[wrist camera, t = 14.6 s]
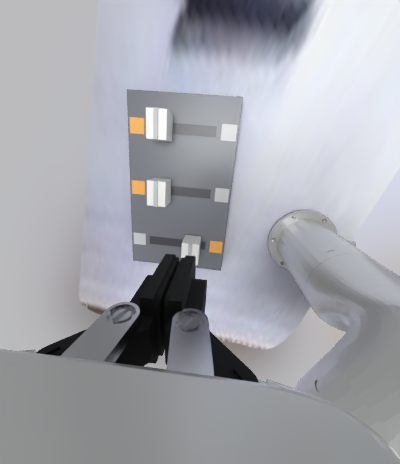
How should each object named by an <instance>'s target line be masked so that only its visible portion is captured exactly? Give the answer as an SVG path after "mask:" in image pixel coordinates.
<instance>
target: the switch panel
mask: <svg viewBox="0 0 400 464" xmlns="http://www.w3.org/2000/svg"><path fill="white" fill-rule="evenodd" d="M242 101H243V97H233V96H218V95H203V94H188V93H173V92H158V91H143V90H128V89H127V105H128V132H129V159H130V186H131V213H132V240H133V260H134V261H143V262H152V263H160V262H161V261H162V259H163V257H164V256H165V254H175V255H176V257H179V260H181V249H182V241H183V239H184V237H185V235H192V236H201V244H200V256H199V261H198V265H196V267H195V268H204V269H213V270H221V264H222V257H223V249H224V241H225V233H226V226H227V218H228V210H229V202H230V194H231V187H232V179H233V171H234V163H235V156H236V148H237V140H238V132H239V125H240V117H241V109H242ZM146 107H149V108H153V107H157V108H163V109H168V110H169V111H170V112H171V113H172V114H173V131H172V142H169V141H156V140H151V139H146ZM152 178H162V179H171V202H170V203H169V204H168V205H167V206H166V207H159V206H158V207H153V206H149V205H147V180H149V179H152Z"/></svg>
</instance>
